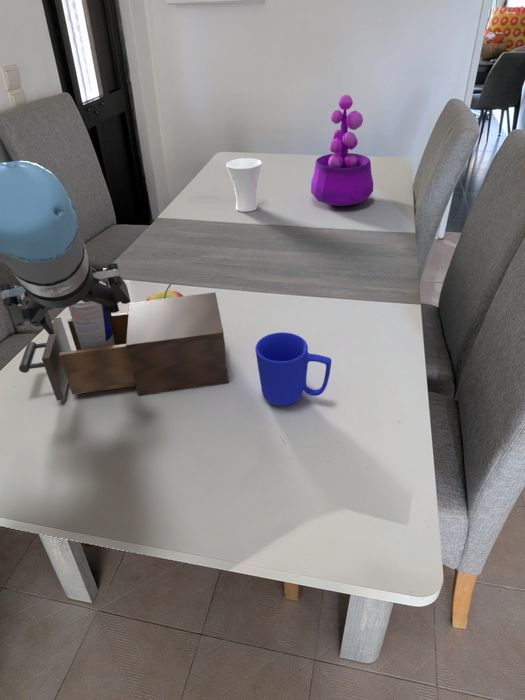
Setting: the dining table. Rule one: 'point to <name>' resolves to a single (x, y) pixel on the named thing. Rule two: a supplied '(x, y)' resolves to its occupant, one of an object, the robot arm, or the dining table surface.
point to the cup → (245, 182)
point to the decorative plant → (343, 163)
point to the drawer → (83, 360)
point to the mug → (286, 368)
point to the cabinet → (176, 343)
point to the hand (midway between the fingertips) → (79, 319)
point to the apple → (164, 295)
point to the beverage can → (91, 325)
